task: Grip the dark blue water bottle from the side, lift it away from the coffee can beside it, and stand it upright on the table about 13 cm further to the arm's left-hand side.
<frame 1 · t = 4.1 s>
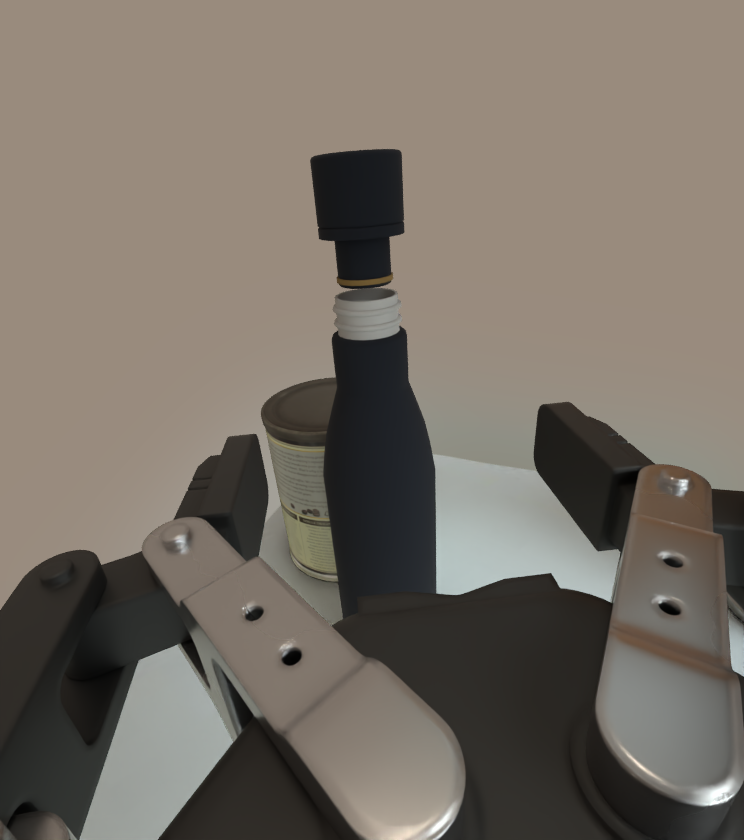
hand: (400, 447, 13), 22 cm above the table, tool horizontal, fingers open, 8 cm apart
coffee can: (345, 542, 42), on the table
dark blue water bottle: (391, 638, 33), on the table
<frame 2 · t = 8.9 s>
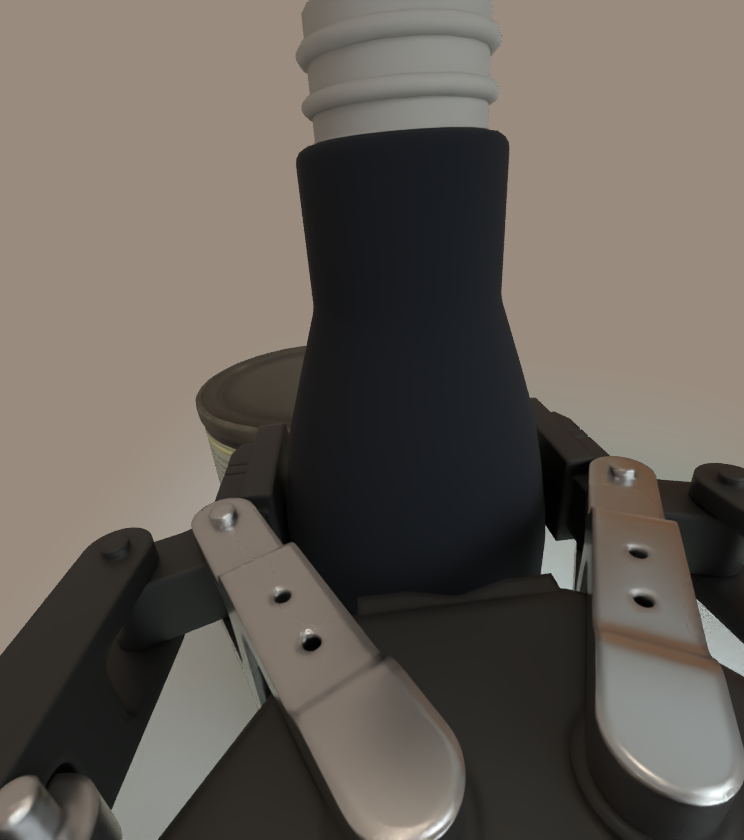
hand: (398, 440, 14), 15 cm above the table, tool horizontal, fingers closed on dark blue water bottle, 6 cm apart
coffee can: (341, 598, 28), on the table
dark blue water bottle: (423, 801, 18), on the table, touching gripper
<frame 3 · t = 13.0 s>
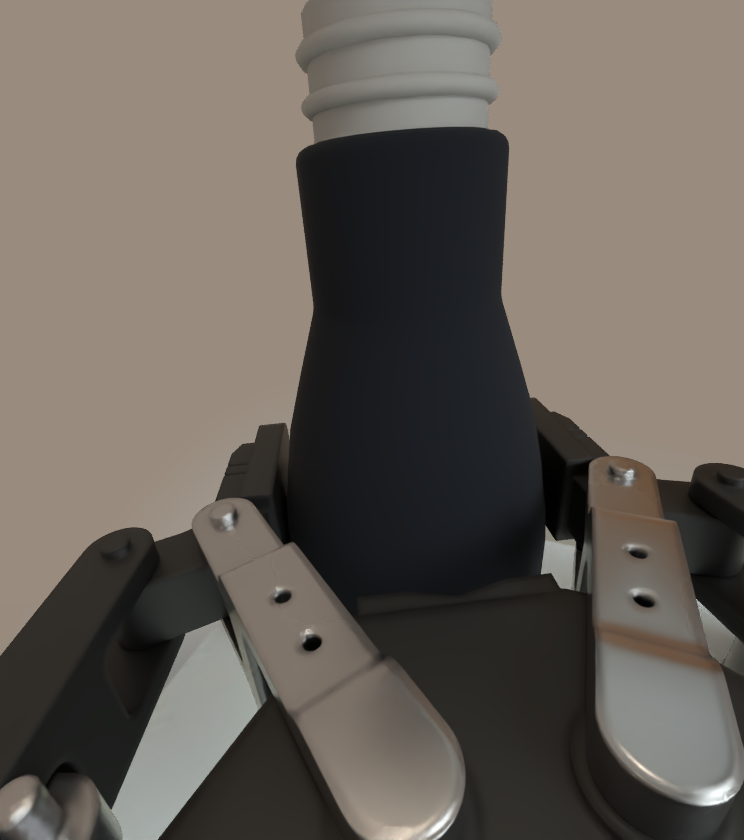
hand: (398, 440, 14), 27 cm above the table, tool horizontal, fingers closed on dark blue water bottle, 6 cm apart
dark blue water bottle: (424, 801, 18), point 12 cm above the table, touching gripper
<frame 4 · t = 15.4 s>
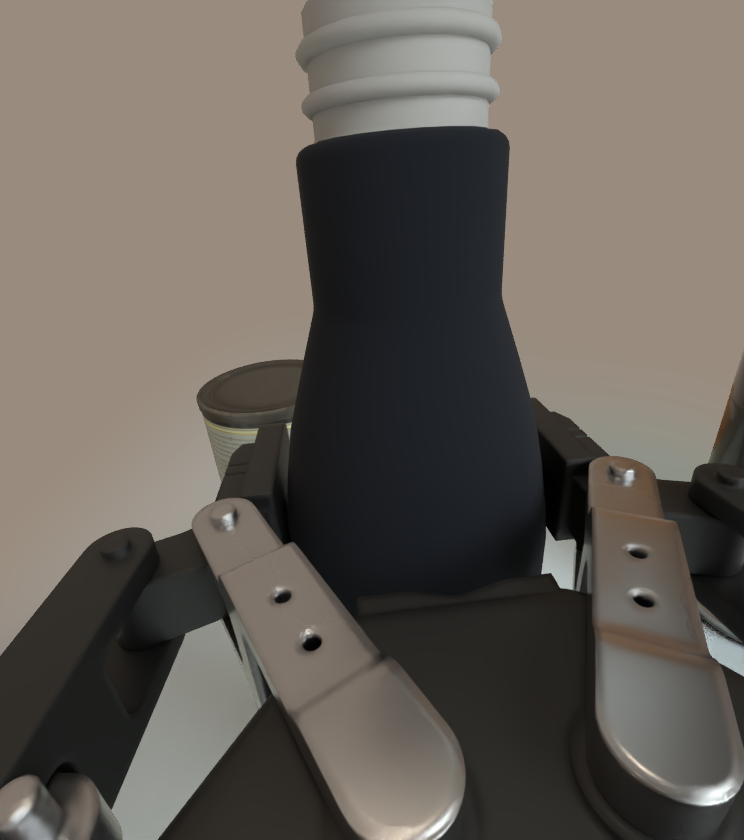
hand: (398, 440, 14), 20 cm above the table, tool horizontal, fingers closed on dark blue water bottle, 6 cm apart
coffee can: (295, 530, 41), on the table
dark blue water bottle: (424, 801, 18), point 5 cm above the table, touching gripper
when the fingers open (15 cm above the table, at t = 17.4 s): dark blue water bottle stays where it is, on the table.
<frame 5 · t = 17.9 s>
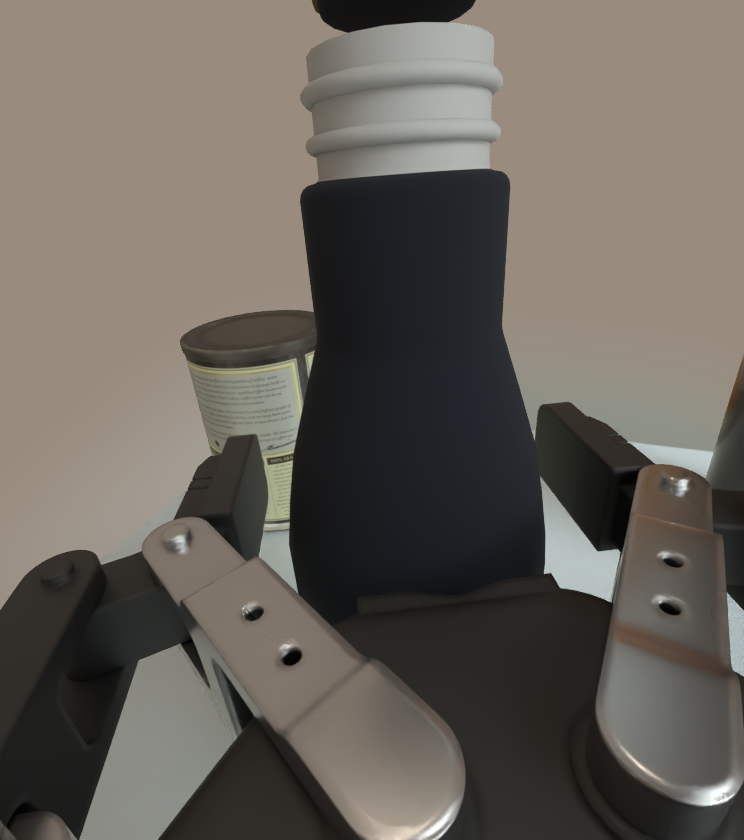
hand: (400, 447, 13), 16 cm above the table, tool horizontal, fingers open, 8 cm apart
coffee can: (287, 494, 39), on the table
dark blue water bottle: (423, 814, 18), on the table
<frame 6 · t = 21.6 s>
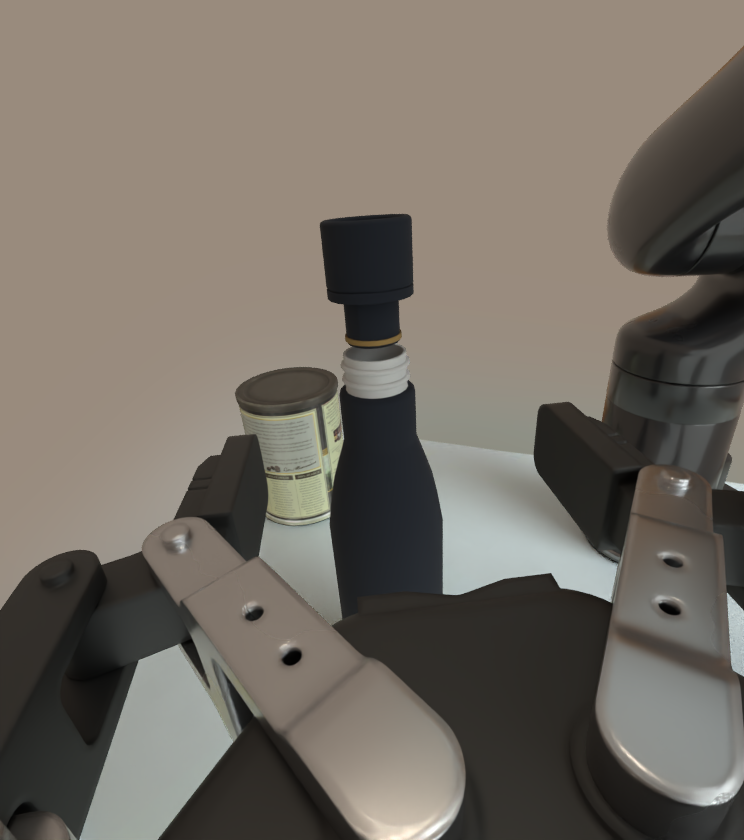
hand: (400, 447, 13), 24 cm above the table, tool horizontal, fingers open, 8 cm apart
coffee can: (305, 499, 53), on the table
dark blue water bottle: (396, 680, 33), on the table
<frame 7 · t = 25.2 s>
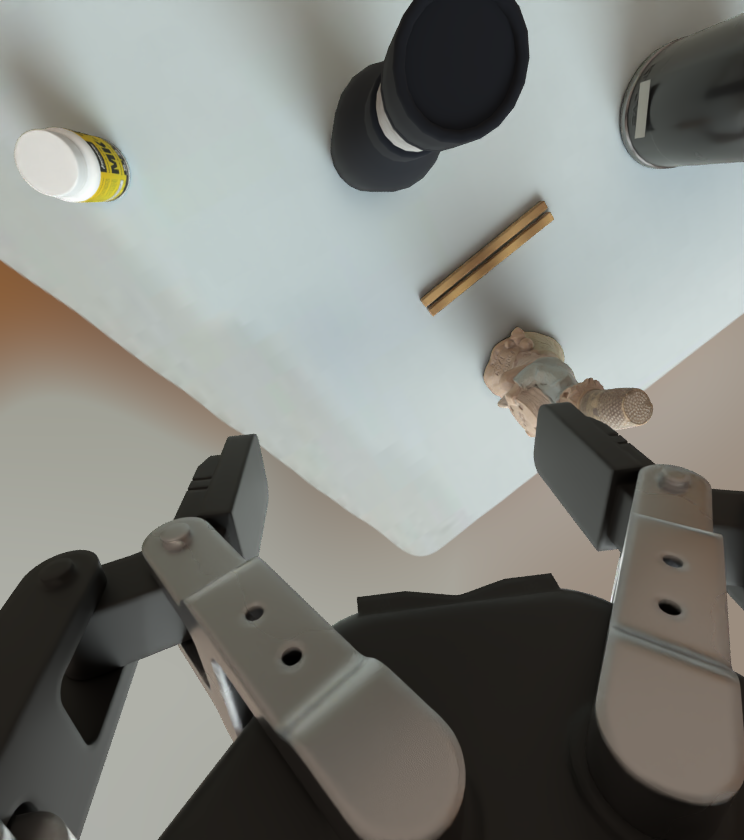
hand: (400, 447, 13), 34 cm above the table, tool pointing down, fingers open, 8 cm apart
supplement bottle: (102, 169, 38), on the table
figurine: (517, 362, 50), on the table
chopsticks: (483, 260, 44), on the table
dark blue water bottle: (368, 150, 40), on the table
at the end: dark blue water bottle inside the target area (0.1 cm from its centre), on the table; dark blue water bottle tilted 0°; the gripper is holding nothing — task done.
